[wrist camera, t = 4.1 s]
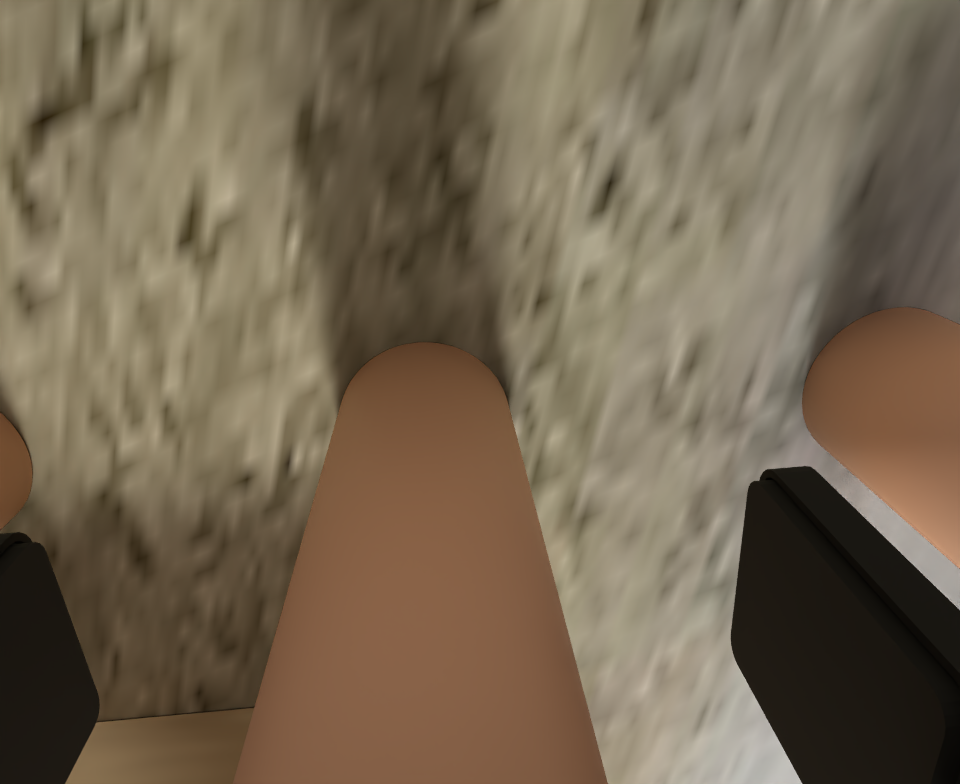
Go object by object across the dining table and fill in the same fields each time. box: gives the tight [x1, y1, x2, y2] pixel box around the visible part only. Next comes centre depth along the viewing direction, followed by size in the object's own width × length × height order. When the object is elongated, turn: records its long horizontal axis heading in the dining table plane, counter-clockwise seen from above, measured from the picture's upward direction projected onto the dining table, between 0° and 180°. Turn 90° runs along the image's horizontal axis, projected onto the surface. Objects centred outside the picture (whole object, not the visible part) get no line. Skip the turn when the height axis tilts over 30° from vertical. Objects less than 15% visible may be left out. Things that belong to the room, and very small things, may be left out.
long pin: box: [233, 342, 608, 784], centre depth 9 cm, size 4×4×12 cm
